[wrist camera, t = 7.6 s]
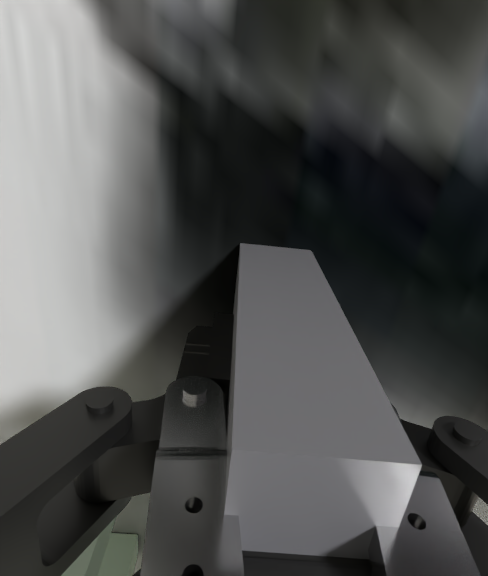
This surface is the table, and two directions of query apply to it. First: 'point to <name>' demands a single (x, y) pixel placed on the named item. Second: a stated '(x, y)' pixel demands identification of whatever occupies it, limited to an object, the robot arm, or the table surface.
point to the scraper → (307, 417)
